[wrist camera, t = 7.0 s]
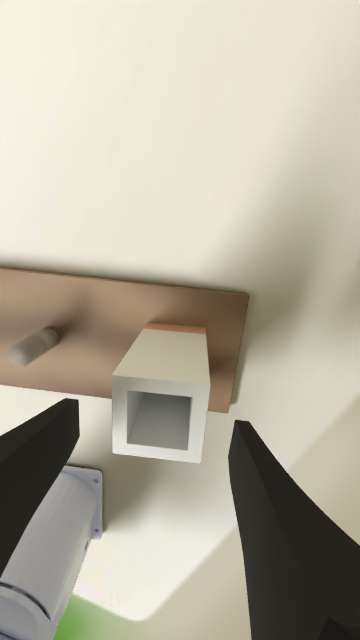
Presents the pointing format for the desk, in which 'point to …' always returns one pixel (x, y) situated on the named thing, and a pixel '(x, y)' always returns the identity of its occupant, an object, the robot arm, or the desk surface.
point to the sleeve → (162, 394)
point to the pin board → (106, 329)
